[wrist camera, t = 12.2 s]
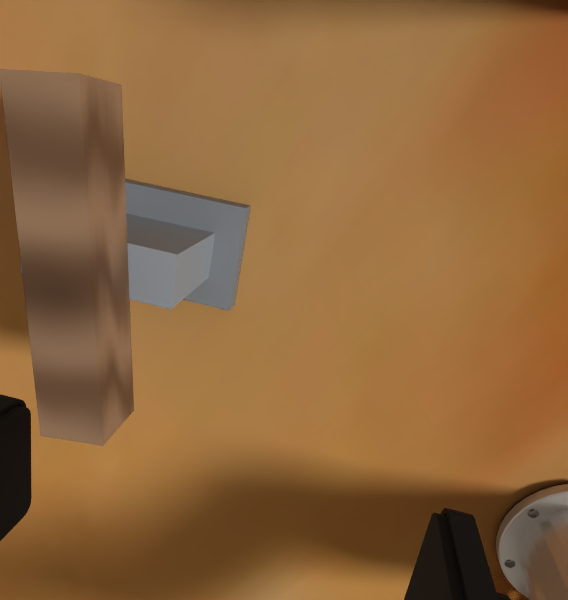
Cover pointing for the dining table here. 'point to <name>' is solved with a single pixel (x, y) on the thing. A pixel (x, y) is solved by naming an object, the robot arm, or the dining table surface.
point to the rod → (72, 247)
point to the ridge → (183, 246)
